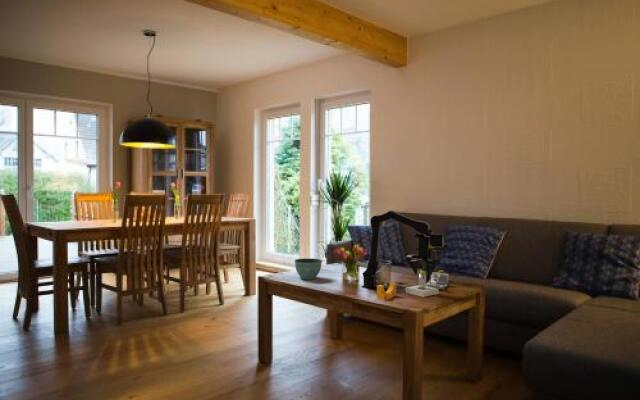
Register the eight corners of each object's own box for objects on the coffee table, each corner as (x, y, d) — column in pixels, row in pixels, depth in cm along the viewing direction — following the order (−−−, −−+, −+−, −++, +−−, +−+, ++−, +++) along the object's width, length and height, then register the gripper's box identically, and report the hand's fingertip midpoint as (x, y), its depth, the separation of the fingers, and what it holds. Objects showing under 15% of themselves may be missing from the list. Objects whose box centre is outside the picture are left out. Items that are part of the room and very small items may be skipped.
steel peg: (422, 294, 245) (422, 275, 245) (416, 292, 248) (417, 273, 248) (426, 293, 247) (427, 274, 247) (421, 291, 250) (421, 273, 250)
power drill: (447, 283, 274) (448, 240, 273) (417, 280, 280) (418, 238, 279) (448, 280, 282) (450, 238, 281) (420, 277, 288) (421, 236, 288)
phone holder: (442, 274, 251) (421, 272, 257) (442, 292, 252) (421, 290, 257) (450, 269, 267) (430, 267, 272) (450, 286, 267) (429, 283, 273)
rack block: (423, 296, 239) (423, 292, 239) (405, 292, 249) (405, 287, 249) (438, 293, 247) (438, 289, 247) (420, 289, 256) (420, 284, 256)
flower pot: (288, 278, 280) (289, 260, 279) (307, 274, 292) (307, 257, 292) (309, 282, 269) (309, 263, 269) (327, 278, 281) (327, 260, 281)
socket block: (402, 291, 250) (402, 286, 250) (386, 287, 260) (386, 282, 260) (417, 288, 258) (417, 284, 258) (401, 284, 267) (401, 280, 267)
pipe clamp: (383, 300, 231) (383, 287, 231) (376, 298, 234) (377, 286, 234) (398, 296, 240) (398, 284, 239) (391, 295, 243) (392, 282, 242)
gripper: (447, 247, 244) (447, 277, 245) (419, 243, 259) (419, 271, 260) (433, 248, 238) (433, 279, 238) (405, 244, 252) (405, 273, 253)
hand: (422, 275), depth 247 cm, fingers open, 9 cm apart
